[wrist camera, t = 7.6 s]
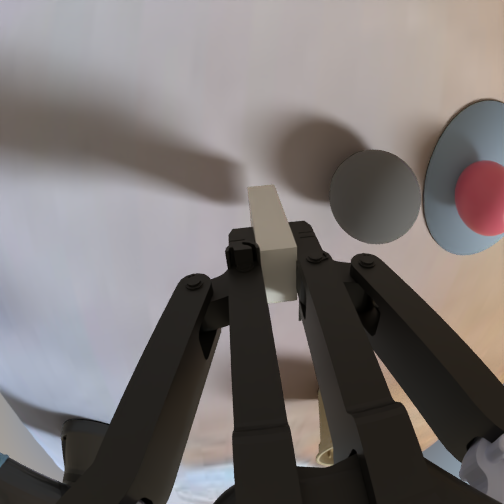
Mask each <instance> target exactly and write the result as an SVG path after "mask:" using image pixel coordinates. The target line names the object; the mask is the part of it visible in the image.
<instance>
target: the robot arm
mask: <svg viewBox="0 0 504 504" xmlns="http://www.w3.org/2000/svg"><path fill="white" fill-rule="evenodd" d="M247 188H248V198H249V208H250V219H251V227H247V228H238V229H232V231H231V232H230V234H229V246H228V247H227V248H226V250H225V254H226V260H227V266H228V270H227V271H226V272H225V273H224V274H222V275H221V276H219V277H216V278H213V279H210V278H209V277H208V276H207V275H205V274H200V273H197V274H191V275H188V276H186V277H184V278H183V279H181V280H180V282H179V283H178V285H177V287H176V289H175V290H174V292H173V294H172V296H171V298H170V300H169V302H168V304H167V306H166V308H165V310H164V312H163V314H162V316H161V318H160V320H159V322H158V324H157V326H156V328H155V330H154V332H153V334H152V336H151V338H150V340H149V342H148V344H147V346H146V348H145V350H144V352H143V354H142V356H141V358H140V360H139V362H138V364H137V366H136V368H135V371H134V373H133V375H132V377H131V379H130V381H129V383H128V385H127V388H126V390H125V392H124V394H123V396H122V398H121V401H120V403H119V405H118V407H117V409H116V412H115V414H114V416H113V418H112V420H111V423H110V425H106V424H103V423H98V422H94V421H88V420H69V421H66V422H65V423H64V425H63V429H62V433H61V441H62V451H63V459H64V466H65V471H64V477H63V483H61V482H59V481H57V480H54V479H52V478H50V477H47V476H45V475H43V474H40V473H38V472H36V471H34V470H32V469H30V468H28V467H26V466H24V465H22V464H20V463H18V462H17V461H15V460H13V459H11V458H9V456H8V455H4V454H2V453H0V504H166V503H167V501H168V499H169V496H170V494H171V491H172V488H173V486H174V482H175V479H176V476H177V472H178V469H179V466H180V463H181V459H182V456H183V453H184V450H185V446H186V443H187V440H188V437H189V433H190V430H191V427H192V424H193V420H194V417H195V414H196V411H197V407H198V404H199V401H200V398H201V395H202V391H203V388H204V385H205V382H206V378H207V375H208V372H209V369H210V366H211V362H212V359H213V356H214V353H215V350H216V346H217V343H218V340H219V337H220V334H221V328H222V327H225V326H228V325H230V350H231V374H232V395H233V415H234V431H233V434H232V445H233V463H234V479H235V485H233V486H231V487H230V488H229V489H227V490H226V491H225V492H224V493H223V494H221V495H220V496H219V498H218V499H217V500H216V501H215V502H214V503H213V504H504V386H503V384H502V383H501V382H500V381H499V380H498V379H497V377H496V376H495V375H494V374H493V373H492V372H491V371H490V369H489V368H488V367H487V366H486V365H485V364H484V363H483V362H482V360H481V359H480V358H479V357H478V356H477V355H476V354H475V353H474V352H473V351H472V349H471V348H470V347H469V346H468V345H467V344H466V343H465V342H464V341H463V340H462V339H461V338H460V337H459V336H458V334H457V333H456V332H455V331H454V330H453V329H452V328H451V327H450V326H449V325H448V324H447V323H446V322H445V321H444V320H443V319H442V318H441V317H440V316H439V315H438V314H437V313H436V312H435V311H434V310H433V309H432V308H431V307H430V306H429V305H428V304H427V303H426V302H425V301H424V300H423V299H422V298H421V297H420V296H419V295H418V294H417V293H416V292H415V291H414V290H413V289H412V288H411V287H410V286H409V285H408V284H406V283H405V282H404V281H403V280H402V279H401V278H400V277H399V276H398V275H397V274H396V273H395V272H394V271H393V270H392V269H391V268H389V267H388V266H387V265H386V264H385V263H384V262H383V261H382V260H381V259H380V258H378V257H377V256H375V255H372V254H366V253H362V254H357V255H355V256H354V257H353V258H352V259H351V263H346V262H338V261H334V260H333V259H332V257H331V256H330V255H329V254H328V253H327V252H325V251H323V250H322V248H321V246H320V244H319V242H318V239H317V237H316V235H315V233H314V232H313V229H312V227H311V225H310V224H308V223H307V222H305V221H296V222H288V221H287V218H286V215H285V212H284V210H283V207H282V204H281V202H280V199H279V196H278V194H277V191H276V188H275V186H274V185H264V186H254V187H247ZM297 293H298V297H299V321H301V318H302V321H303V325H304V329H305V333H306V337H307V341H308V345H309V349H310V353H311V356H312V360H313V364H314V368H315V372H316V376H317V381H318V385H319V389H320V393H321V397H322V401H323V405H324V409H325V414H326V418H327V422H328V426H329V431H330V435H331V439H332V444H333V461H334V465H332V466H329V467H326V468H317V467H299V466H296V460H295V454H294V448H293V442H292V436H291V431H290V427H289V425H288V422H287V416H286V410H285V404H284V398H283V391H282V385H281V379H280V373H279V367H278V361H277V355H276V349H275V343H274V337H273V332H272V326H271V320H270V314H269V308H268V304H269V303H278V302H286V301H294V300H297ZM373 350H374V351H375V353H376V354H377V355H378V357H379V358H380V359H381V361H382V362H383V363H384V365H385V366H386V367H387V369H388V370H389V371H390V373H391V374H392V375H393V377H394V378H395V379H396V381H397V382H398V383H399V385H400V386H401V387H402V389H403V390H404V392H405V393H406V394H407V396H408V397H409V398H410V400H411V401H412V402H413V404H414V405H415V407H416V408H417V409H418V411H419V412H420V413H421V415H422V416H423V418H424V419H425V420H426V422H427V423H428V425H429V426H430V427H431V429H432V430H433V432H434V433H435V435H436V436H437V437H438V439H439V440H440V441H441V443H442V444H443V445H444V446H445V448H446V449H447V450H448V451H449V452H450V453H451V454H452V455H453V456H454V457H455V458H456V459H457V460H458V461H460V462H461V463H462V465H461V469H460V472H459V476H460V478H461V480H460V479H458V478H457V477H455V476H453V475H452V474H450V473H448V472H447V471H445V470H443V469H442V468H440V467H439V466H437V465H435V464H434V463H432V462H430V461H429V460H427V459H426V458H424V457H423V454H422V451H421V448H420V445H419V442H418V439H417V437H416V434H415V431H414V428H413V426H412V423H411V420H410V418H409V415H408V412H407V410H406V408H405V407H404V405H403V404H402V403H401V402H395V401H394V400H393V398H392V396H391V394H390V391H389V389H388V386H387V383H386V381H385V378H384V376H383V373H382V371H381V368H380V366H379V363H378V361H377V358H376V356H375V354H374V351H373ZM462 480H463V481H467V482H468V483H469V484H470V485H468V484H467V483H465V482H463V481H462Z"/></svg>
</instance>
